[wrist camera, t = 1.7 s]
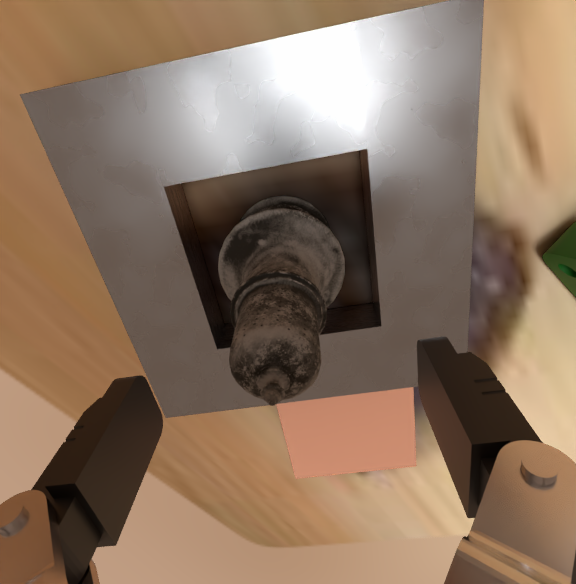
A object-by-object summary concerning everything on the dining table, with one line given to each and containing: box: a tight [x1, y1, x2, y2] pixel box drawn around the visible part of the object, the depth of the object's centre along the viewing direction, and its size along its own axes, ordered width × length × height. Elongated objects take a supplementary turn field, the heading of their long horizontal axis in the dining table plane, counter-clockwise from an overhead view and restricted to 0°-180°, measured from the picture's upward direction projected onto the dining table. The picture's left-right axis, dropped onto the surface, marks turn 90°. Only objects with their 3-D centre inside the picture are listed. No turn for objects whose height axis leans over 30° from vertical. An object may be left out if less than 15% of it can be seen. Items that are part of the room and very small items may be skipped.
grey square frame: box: [20, 0, 484, 418], centre depth 20 cm, size 18×18×2 cm
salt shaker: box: [218, 195, 345, 406], centre depth 15 cm, size 6×6×12 cm
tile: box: [276, 387, 416, 479], centre depth 27 cm, size 9×9×1 cm
